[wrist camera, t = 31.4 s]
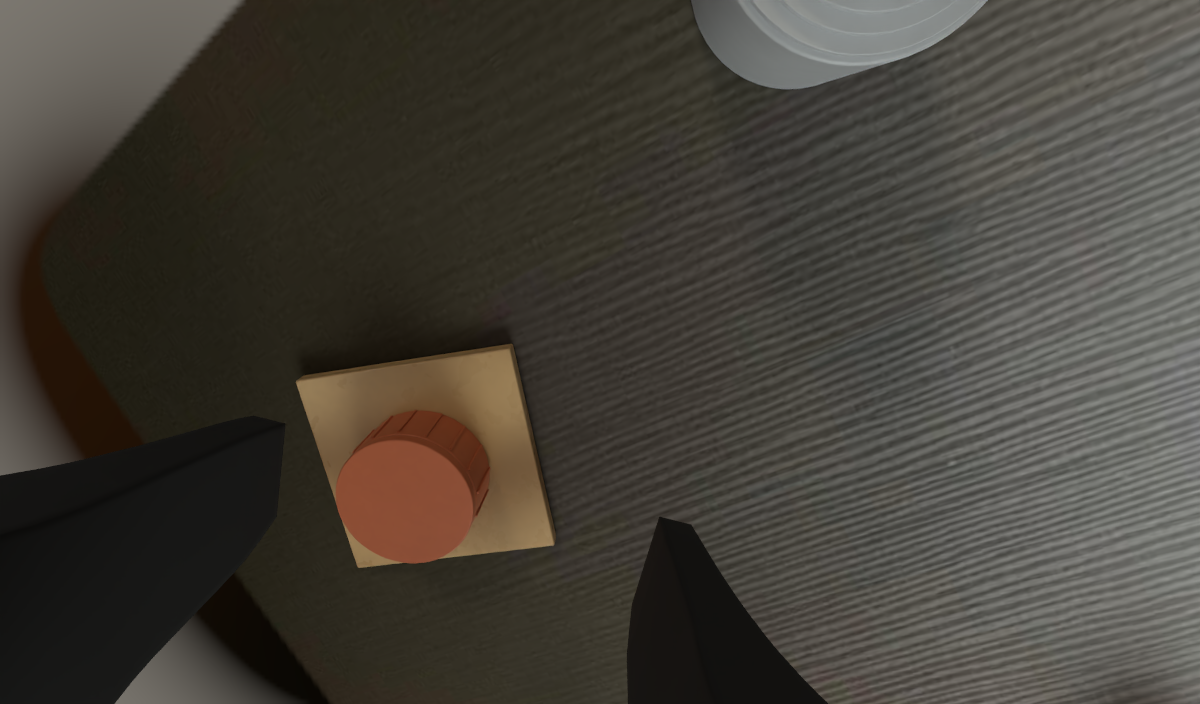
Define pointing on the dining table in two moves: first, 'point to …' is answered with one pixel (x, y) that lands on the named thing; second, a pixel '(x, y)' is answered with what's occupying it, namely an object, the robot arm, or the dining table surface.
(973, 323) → the dining table surface
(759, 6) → the flask
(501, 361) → the coaster
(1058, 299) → the dining table surface
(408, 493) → the flask cap
